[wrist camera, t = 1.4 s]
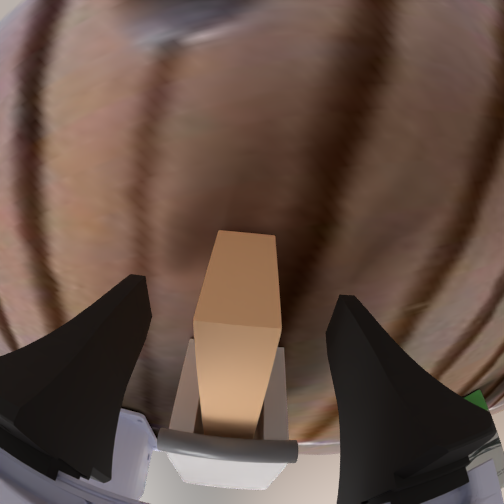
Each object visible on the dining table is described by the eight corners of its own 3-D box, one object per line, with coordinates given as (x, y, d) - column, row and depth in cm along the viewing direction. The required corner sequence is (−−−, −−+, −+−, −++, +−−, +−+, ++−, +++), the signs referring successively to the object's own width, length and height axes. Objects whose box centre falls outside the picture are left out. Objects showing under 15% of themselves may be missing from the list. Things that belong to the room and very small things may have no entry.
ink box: (441, 406, 19) (469, 507, 9) (481, 386, 18) (514, 480, 8) (429, 433, 23) (447, 512, 13) (463, 418, 22) (485, 493, 12)
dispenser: (269, 409, 17) (268, 491, 12) (194, 402, 17) (180, 483, 12) (290, 338, 13) (298, 459, 8) (185, 328, 13) (155, 445, 8)
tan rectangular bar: (246, 410, 17) (243, 470, 13) (216, 407, 17) (209, 467, 13) (274, 235, 10) (281, 328, 6) (218, 230, 10) (192, 319, 6)
